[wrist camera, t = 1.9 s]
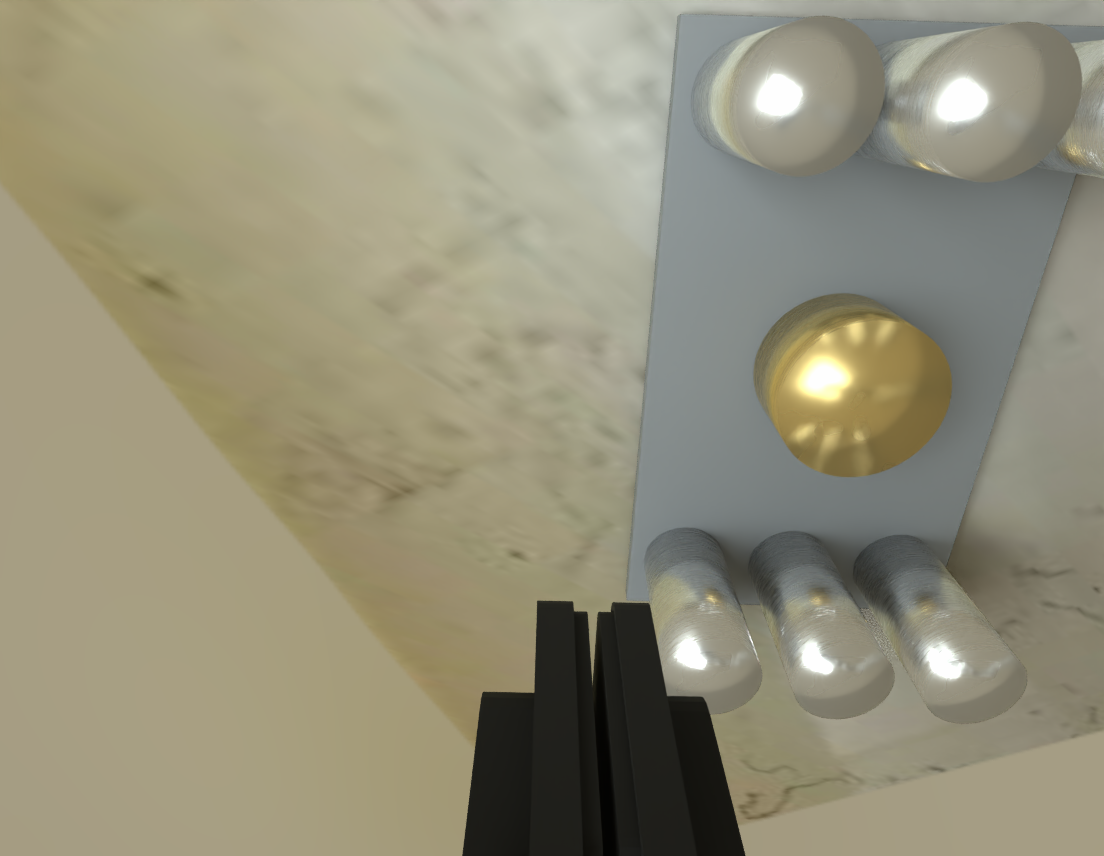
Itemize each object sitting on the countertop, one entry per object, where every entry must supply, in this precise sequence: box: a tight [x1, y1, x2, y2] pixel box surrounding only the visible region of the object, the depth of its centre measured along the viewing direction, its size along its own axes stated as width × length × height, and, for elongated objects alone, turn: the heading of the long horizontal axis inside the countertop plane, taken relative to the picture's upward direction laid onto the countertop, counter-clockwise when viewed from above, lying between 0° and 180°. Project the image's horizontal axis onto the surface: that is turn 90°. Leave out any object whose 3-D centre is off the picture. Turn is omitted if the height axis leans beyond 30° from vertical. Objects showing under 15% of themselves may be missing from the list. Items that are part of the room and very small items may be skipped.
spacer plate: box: [626, 14, 1104, 609], centre depth 24 cm, size 12×20×1 cm, turn 178°
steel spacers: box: [644, 16, 1104, 724], centre depth 21 cm, size 11×19×6 cm, turn 178°
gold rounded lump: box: [753, 293, 952, 477], centre depth 22 cm, size 5×5×3 cm
